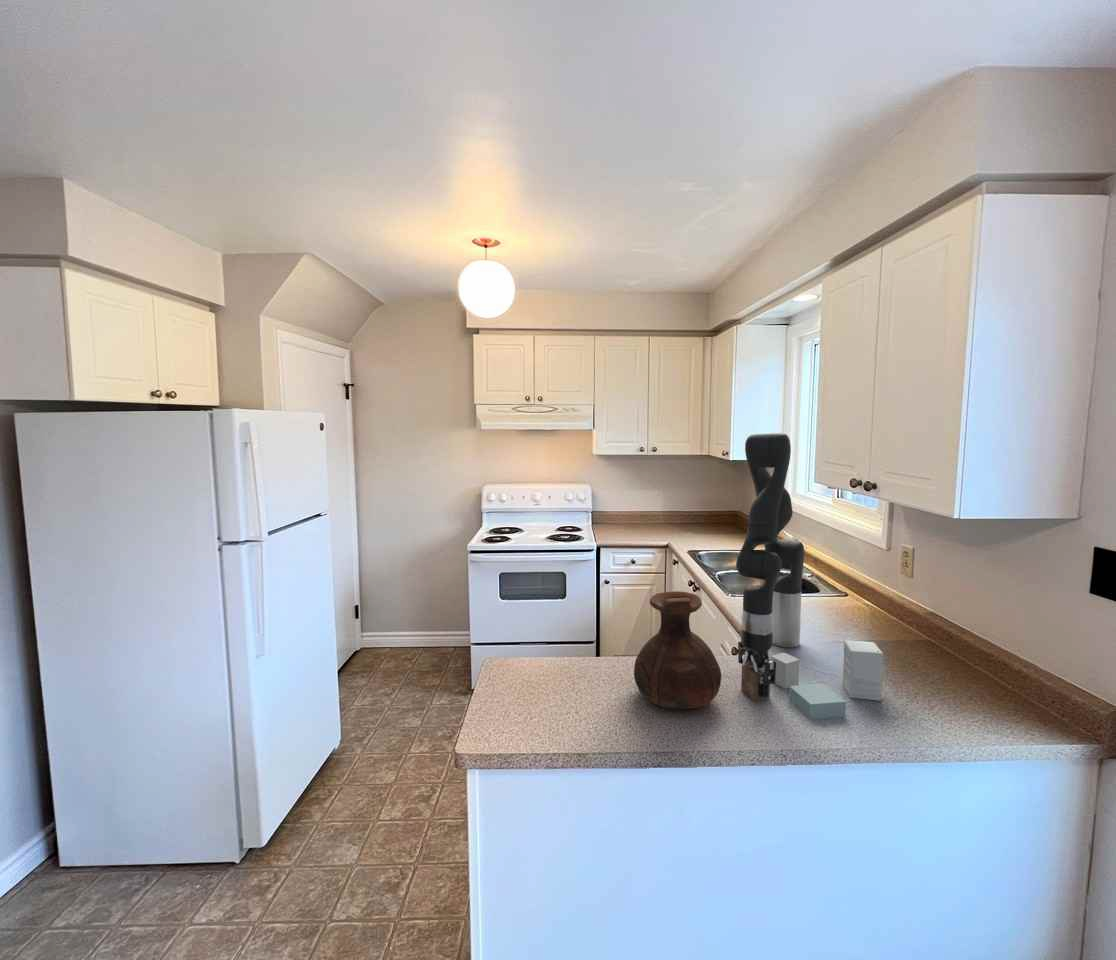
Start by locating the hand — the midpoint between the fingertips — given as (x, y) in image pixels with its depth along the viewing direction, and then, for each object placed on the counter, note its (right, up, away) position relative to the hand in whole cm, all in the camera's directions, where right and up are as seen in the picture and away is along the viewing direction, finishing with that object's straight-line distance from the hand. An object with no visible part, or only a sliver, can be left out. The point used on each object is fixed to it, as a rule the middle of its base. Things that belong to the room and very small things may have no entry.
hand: (755, 689), depth 136 cm
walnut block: (0, -1, 0) cm, 1 cm away
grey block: (+10, -1, +6) cm, 12 cm away
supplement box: (+27, -1, 0) cm, 28 cm away
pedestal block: (+12, -2, -7) cm, 14 cm away
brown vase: (-21, -2, -2) cm, 21 cm away
